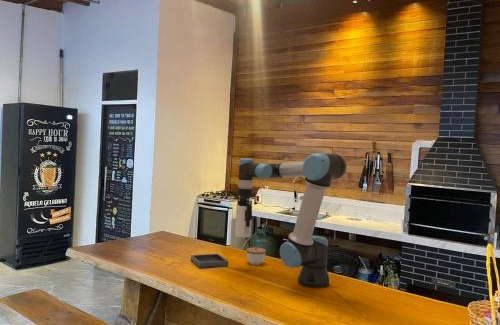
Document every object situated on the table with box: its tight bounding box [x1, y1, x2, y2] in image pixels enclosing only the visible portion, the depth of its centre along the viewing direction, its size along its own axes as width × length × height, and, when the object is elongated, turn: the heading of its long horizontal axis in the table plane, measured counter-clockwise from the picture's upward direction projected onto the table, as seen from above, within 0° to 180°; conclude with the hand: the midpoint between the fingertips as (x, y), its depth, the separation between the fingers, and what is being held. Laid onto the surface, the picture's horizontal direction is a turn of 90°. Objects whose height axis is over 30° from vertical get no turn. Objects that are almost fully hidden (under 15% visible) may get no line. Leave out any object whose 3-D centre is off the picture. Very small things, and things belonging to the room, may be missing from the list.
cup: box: [234, 204, 253, 238], centre depth 224 cm, size 8×8×16 cm
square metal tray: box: [190, 253, 229, 270], centre depth 232 cm, size 16×16×3 cm
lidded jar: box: [245, 246, 266, 266], centre depth 237 cm, size 11×11×9 cm
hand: (243, 231), depth 224 cm, fingers closed on cup, 8 cm apart
